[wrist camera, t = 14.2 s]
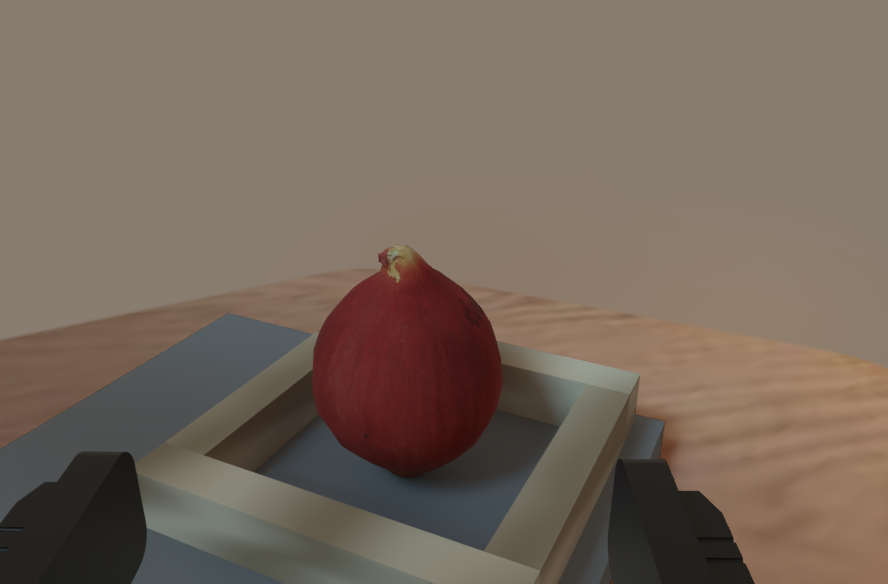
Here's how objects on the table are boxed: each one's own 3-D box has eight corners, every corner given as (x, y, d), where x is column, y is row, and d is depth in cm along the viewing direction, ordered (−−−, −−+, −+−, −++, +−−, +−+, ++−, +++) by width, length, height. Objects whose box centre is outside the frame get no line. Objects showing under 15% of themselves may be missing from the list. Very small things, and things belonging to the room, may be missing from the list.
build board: (-81, 543, 25) (-94, 505, 24) (231, 341, 37) (228, 313, 37) (512, 832, 17) (516, 787, 16) (659, 455, 29) (664, 421, 29)
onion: (401, 402, 30) (397, 198, 26) (531, 460, 26) (545, 237, 23) (283, 479, 26) (260, 248, 22) (420, 560, 22) (418, 304, 19)
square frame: (137, 524, 24) (127, 469, 23) (351, 350, 33) (349, 307, 33) (514, 676, 19) (518, 614, 18) (634, 421, 29) (640, 374, 28)
